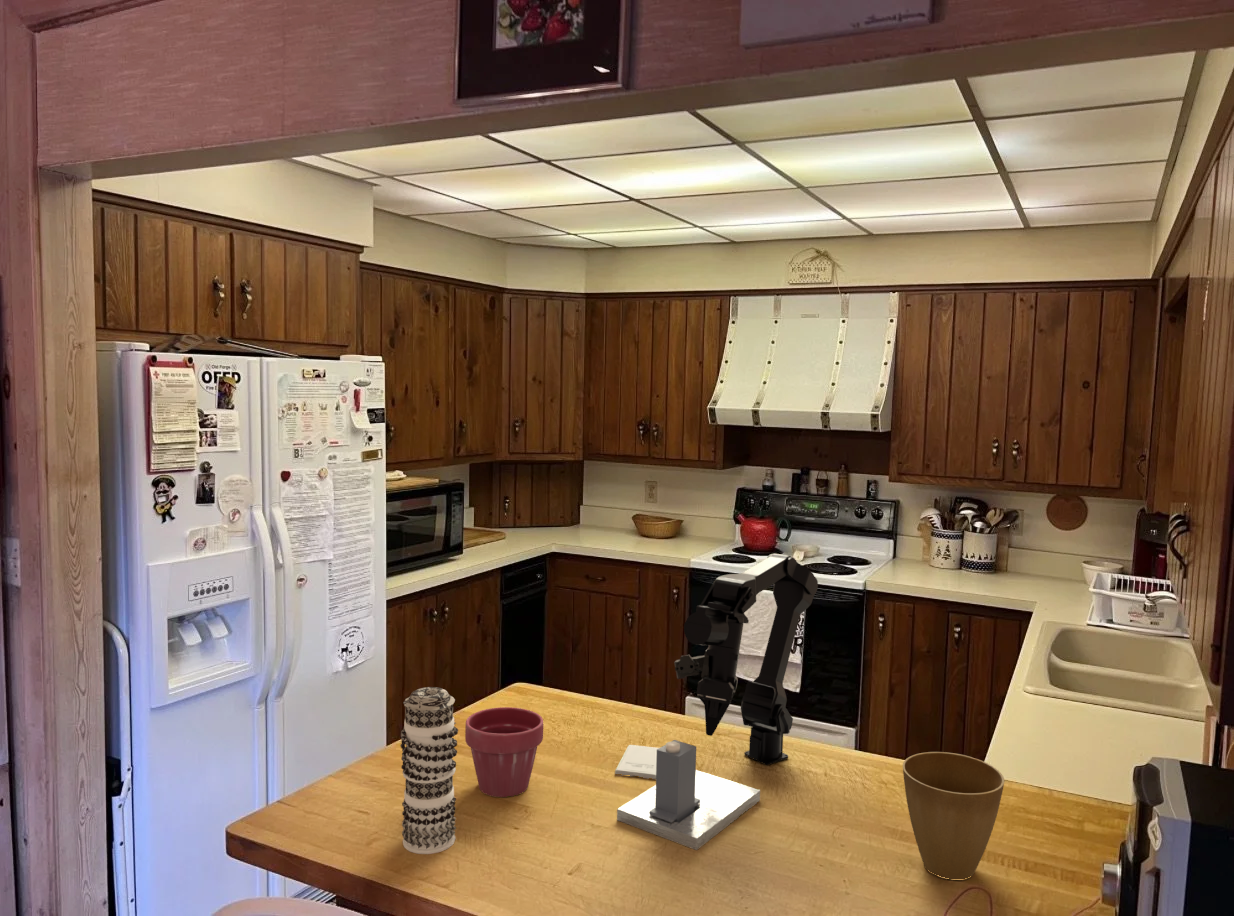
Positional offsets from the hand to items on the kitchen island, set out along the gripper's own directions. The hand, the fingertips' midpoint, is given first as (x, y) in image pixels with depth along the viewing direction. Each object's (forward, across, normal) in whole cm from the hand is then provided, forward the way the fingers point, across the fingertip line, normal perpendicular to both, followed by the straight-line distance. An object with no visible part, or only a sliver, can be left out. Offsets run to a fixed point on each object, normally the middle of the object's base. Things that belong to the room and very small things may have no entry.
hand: (711, 731), depth 167 cm
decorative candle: (+22, +25, -41) cm, 53 cm away
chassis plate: (+13, +5, -1) cm, 14 cm away
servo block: (+14, +9, -3) cm, 18 cm away
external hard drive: (+12, -12, -13) cm, 21 cm away
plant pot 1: (+17, +4, -36) cm, 40 cm away
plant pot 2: (+11, +15, +40) cm, 45 cm away
